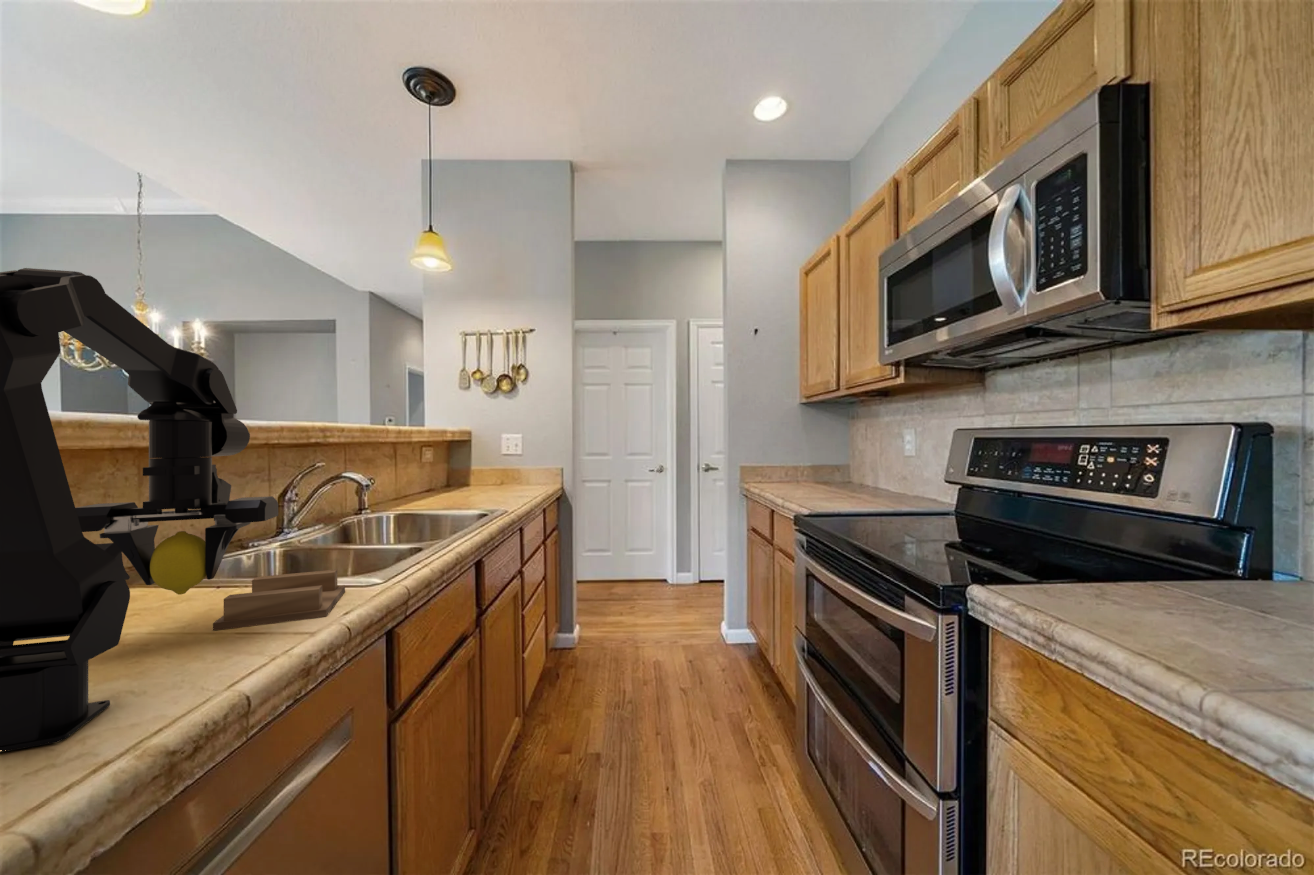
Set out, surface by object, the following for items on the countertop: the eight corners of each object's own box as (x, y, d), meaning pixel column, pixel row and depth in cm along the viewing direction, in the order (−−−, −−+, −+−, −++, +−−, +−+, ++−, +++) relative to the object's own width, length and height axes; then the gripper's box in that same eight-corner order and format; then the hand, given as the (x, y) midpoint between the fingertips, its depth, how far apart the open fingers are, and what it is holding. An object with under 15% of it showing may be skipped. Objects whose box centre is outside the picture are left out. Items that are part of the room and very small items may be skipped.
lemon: (173, 602, 58) (173, 535, 58) (137, 600, 59) (137, 534, 59) (222, 589, 63) (222, 527, 64) (189, 587, 65) (189, 526, 65)
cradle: (326, 616, 71) (326, 589, 71) (212, 630, 66) (212, 601, 66) (345, 591, 83) (344, 568, 83) (250, 601, 78) (250, 576, 78)
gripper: (290, 455, 72) (291, 559, 72) (122, 457, 65) (122, 574, 65) (263, 457, 62) (263, 579, 62) (60, 460, 55) (60, 598, 55)
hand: (181, 581), depth 61 cm, fingers closed on lemon, 5 cm apart
